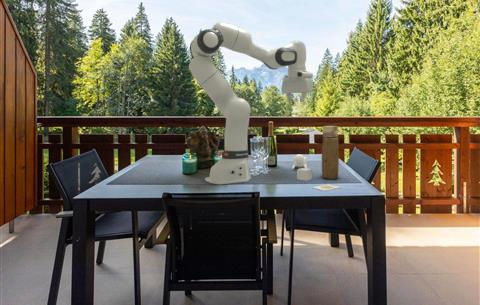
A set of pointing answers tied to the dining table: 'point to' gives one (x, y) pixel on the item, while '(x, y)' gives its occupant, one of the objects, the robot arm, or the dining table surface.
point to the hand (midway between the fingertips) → (295, 102)
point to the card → (326, 187)
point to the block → (330, 157)
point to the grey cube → (304, 174)
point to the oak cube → (330, 131)
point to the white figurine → (300, 161)
